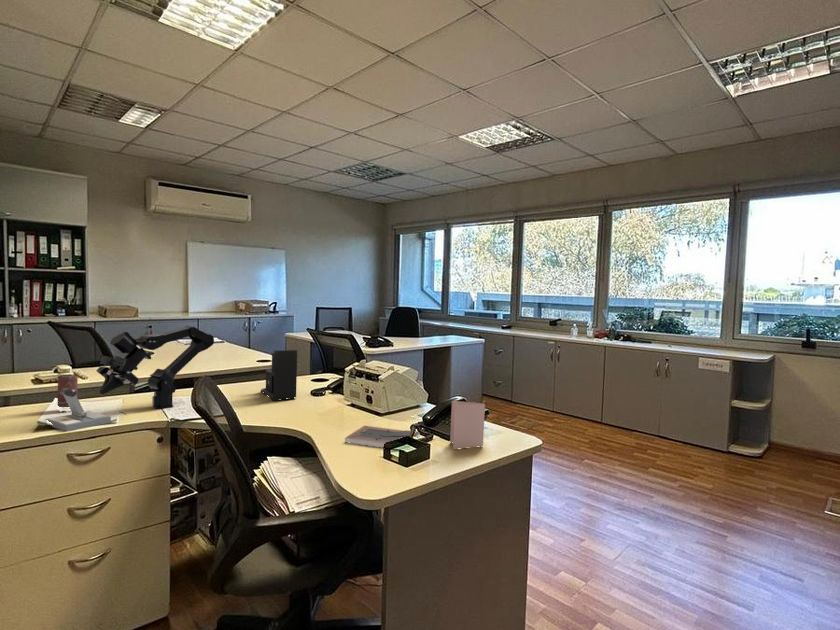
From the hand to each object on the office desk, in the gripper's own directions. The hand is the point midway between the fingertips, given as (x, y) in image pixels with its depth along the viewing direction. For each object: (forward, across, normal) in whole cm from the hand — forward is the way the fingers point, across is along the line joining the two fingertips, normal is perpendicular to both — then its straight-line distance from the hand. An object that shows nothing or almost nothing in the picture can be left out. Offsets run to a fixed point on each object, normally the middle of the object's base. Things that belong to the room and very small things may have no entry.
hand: (100, 393), depth 169 cm
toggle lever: (+9, 0, -1) cm, 9 cm away
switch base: (+12, 0, +2) cm, 12 cm away
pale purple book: (-20, +99, +36) cm, 108 cm away
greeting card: (-27, +127, +41) cm, 136 cm away
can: (+7, -22, +7) cm, 24 cm away
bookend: (-41, +21, +56) cm, 72 cm away
